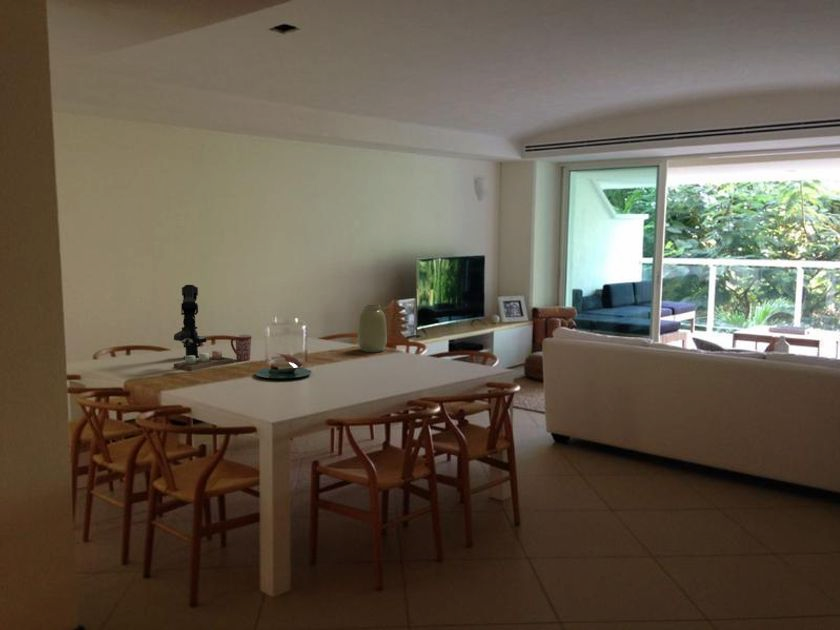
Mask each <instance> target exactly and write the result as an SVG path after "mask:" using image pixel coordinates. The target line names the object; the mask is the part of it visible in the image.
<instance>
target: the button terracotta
mask: <svg viewBox="0 0 840 630" xmlns="http://www.w3.org/2000/svg"><path fill="white" fill-rule="evenodd" d="M211 353H212V356H211V357H212V359H214V360H218V359H222V357H223V351H222V350H212V352H211Z"/></svg>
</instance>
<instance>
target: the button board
mask: <svg viewBox="0 0 840 630" xmlns="http://www.w3.org/2000/svg"><path fill="white" fill-rule="evenodd" d="M195 359H196V364H193V365H187V364H186V362H185V361H181V362H176V363H173V369H181V370H186V371H197V370H203V369H207V368H212V367H219V366H223V365H228V364H232V363H234V358H231V357H224V356H222V359H218V360H214V359H212V356H209V361H208V362H199V358H195Z"/></svg>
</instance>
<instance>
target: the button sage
mask: <svg viewBox="0 0 840 630" xmlns="http://www.w3.org/2000/svg"><path fill="white" fill-rule="evenodd" d="M196 359H197V358H195V356H194V355H189V356H186V355H185V361H184V362H186V364H187V365H193V364H196Z"/></svg>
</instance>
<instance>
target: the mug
mask: <svg viewBox="0 0 840 630" xmlns="http://www.w3.org/2000/svg"><path fill="white" fill-rule="evenodd" d="M234 340H235V346H234ZM251 345H252V335H251V334H237V335H234V337H232V338H231V340H230V347H231V349H232V350H233V352H234V354H235V356H236V357H235V358H236V361H238V362H239V361H240V362H248V361H251V349H252V348H251V347H252V346H251Z"/></svg>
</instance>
